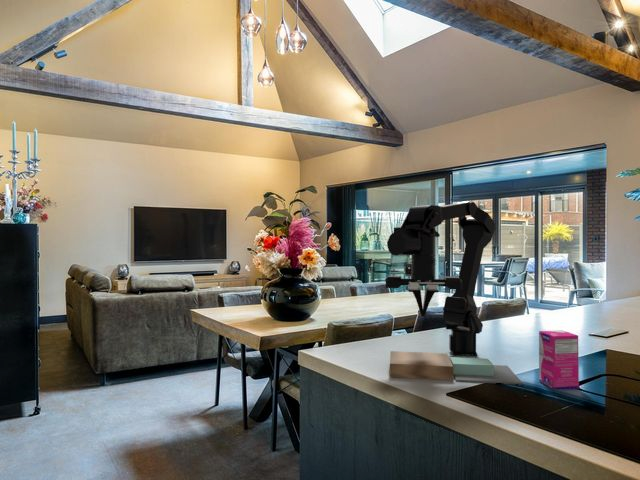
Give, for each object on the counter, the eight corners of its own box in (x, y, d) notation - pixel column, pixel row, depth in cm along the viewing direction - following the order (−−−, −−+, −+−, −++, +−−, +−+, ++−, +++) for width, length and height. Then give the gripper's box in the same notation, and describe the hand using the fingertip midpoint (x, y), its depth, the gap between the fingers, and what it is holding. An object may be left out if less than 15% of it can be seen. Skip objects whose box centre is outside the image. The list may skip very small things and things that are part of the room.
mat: (507, 367, 113) (507, 365, 113) (523, 384, 99) (523, 383, 99) (448, 364, 115) (448, 362, 115) (456, 381, 101) (456, 379, 101)
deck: (447, 365, 114) (447, 353, 114) (453, 379, 102) (453, 366, 102) (390, 362, 116) (390, 351, 116) (390, 376, 104) (390, 363, 104)
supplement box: (537, 381, 101) (537, 330, 101) (563, 381, 102) (563, 329, 102) (553, 390, 96) (553, 335, 96) (580, 389, 96) (580, 335, 96)
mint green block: (487, 368, 110) (487, 358, 110) (493, 375, 104) (493, 365, 104) (449, 367, 111) (449, 357, 111) (453, 374, 105) (453, 363, 105)
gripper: (456, 254, 122) (456, 312, 122) (386, 253, 125) (385, 310, 125) (462, 255, 111) (462, 319, 111) (385, 255, 114) (385, 317, 114)
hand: (422, 316), depth 116 cm, fingers closed
